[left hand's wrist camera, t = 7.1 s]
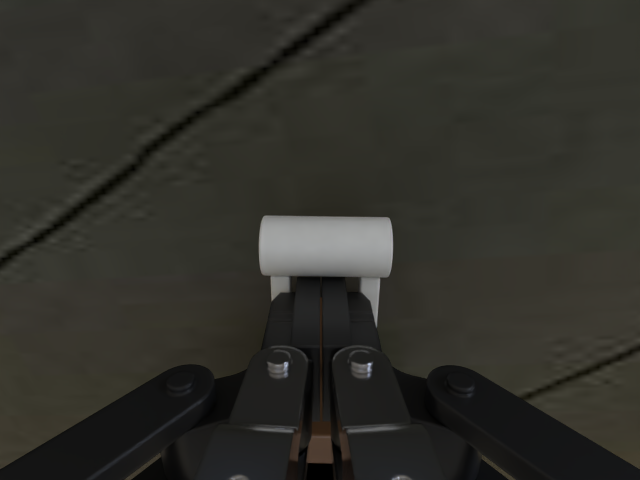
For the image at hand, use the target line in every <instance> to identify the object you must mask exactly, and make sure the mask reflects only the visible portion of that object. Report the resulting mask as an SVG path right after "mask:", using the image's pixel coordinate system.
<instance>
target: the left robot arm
mask: <svg viewBox="0 0 640 480" xmlns="http://www.w3.org/2000/svg"><path fill="white" fill-rule="evenodd" d="M322 421H330V424H331V459H332V467H333V476H334V480H508V479H507V478H506V477H504V476H503V475H502V474H500V473H499V472H498V471H497V470H495V469H494V468H493V467H491V466H490V465H489V464H487V463H486V462H485V461H483V460H482V459H481V458H482V454H483V455H484V456H485V457H487V458H488V459H489V460H491V461H492V462H493V463H495V464H496V465H497V466H499V467H500V468H501V469H503V470H504V471H505V472H507V473H508V474H509V475H511V476H512V477H513V478H515V479H516V480H640V469H638V468H636V467H635V466H633V465H631V464H630V463H628V462H626V461H625V460H623V459H621V458H620V457H618V456H616V455H615V454H613V453H611V452H610V451H608V450H606V449H604V448H603V447H601V446H599V445H598V444H596V443H594V442H593V441H591V440H589V439H588V438H586V437H584V436H583V435H581V434H579V433H578V432H576V431H574V430H573V429H571V428H569V427H568V426H566V425H564V424H562V423H561V422H559V421H557V420H556V419H554V418H552V417H551V416H549V415H547V414H546V413H544V412H542V411H541V410H539V409H537V408H536V407H534V406H532V405H531V404H529V403H527V402H525V401H524V400H522V399H520V398H519V397H517V396H515V395H514V394H512V393H510V392H509V391H507V390H505V389H504V388H502V387H500V386H499V385H497V384H495V383H494V382H492V381H490V380H488V379H487V378H485V377H483V376H482V375H480V374H478V373H477V372H475V371H473V370H470V369H468V368H465V367H461V366H454V365H446V366H441V367H438V368H436V369H434V370H432V371H431V372H430V374H429V375H428V378H427V379H425V378H421V377H417V376H412V375H409V374H406V373H403V372H401V371H399V370H397V369H395V368H394V367H392V365H391V363H390V360H389V359H388V357H387V356H386V355H385V354H384V353H382V350H381V345H380V341H379V337H378V332H377V328H376V324H375V319H374V315H373V311H372V306H371V302H370V300H369V299H368V298H367V297H366V296H365V295H364V294H363V293H362V292H347V291H346V283H345V277H322ZM312 422H320V277H297V285H296V292H280V293H279V294H278V295H277V296H276V297H275V298H274V299H273V300H272V303H271V307H270V313H269V316H268V322H267V325H266V330H265V335H264V339H263V344H262V348H261V351H259V352H258V353H256V354H255V355H254V356H253V357H252V359H251V361H250V363H249V366H248V368H247V369H246V370H244V371H242V372H240V373H238V374H235V375H231V376H227V377H223V378H218V379H214V376H213V374H212V372H211V371H210V370H209V369H208V368H206V367H203V366H200V365H192V364H189V365H181V366H177V367H174V368H171V369H169V370H167V371H165V372H163V373H162V374H160V375H158V376H157V377H155V378H153V379H152V380H150V381H148V382H146V383H145V384H143V385H141V386H140V387H138V388H136V389H135V390H133V391H131V392H130V393H128V394H126V395H125V396H123V397H121V398H120V399H118V400H116V401H115V402H113V403H111V404H109V405H108V406H106V407H104V408H103V409H101V410H99V411H98V412H96V413H94V414H93V415H91V416H89V417H88V418H86V419H84V420H83V421H81V422H79V423H78V424H76V425H74V426H72V427H71V428H69V429H67V430H66V431H64V432H62V433H61V434H59V435H57V436H56V437H54V438H52V439H51V440H49V441H47V442H46V443H44V444H42V445H41V446H39V447H37V448H36V449H34V450H32V451H30V452H29V453H27V454H25V455H24V456H22V457H20V458H19V459H17V460H15V461H14V462H12V463H10V464H9V465H7V466H5V467H4V468H2V469H0V480H124V479H125V478H127V477H128V476H129V475H131V474H132V473H133V472H135V471H136V470H137V469H139V468H140V467H141V466H143V465H144V464H145V463H147V462H148V461H149V460H151V459H152V458H153V457H155V456H156V455H157V454H159V453H161V457H160V458H159V459H158V460H157V461H155V462H154V463H153V464H151V465H150V466H149V467H147V468H146V469H145V470H143V471H142V472H141V473H140V474H138V475H137V476H136V477H134V478H133V479H132V480H306V476H307V468H308V459H309V442H310V440H311V437H312Z"/></svg>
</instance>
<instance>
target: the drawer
mask: <svg viewBox="0 0 640 480" xmlns="http://www.w3.org/2000/svg"><path fill="white" fill-rule="evenodd" d="M392 258H393V233H392V225H391V221H390V219H389V218H388V217H330V216H264V217H263V219H262V221H261V226H260V233H259V263H260V269H261V272H262V274H263V275H267V276H271V299H272V300H273V299H274V298H275V297H276V296H277V295H278V294H279V293H280V292H292V276H328V277H359V284H358V292H362V293H363V294H364V295H365V296H366V297H367V298H368V299H369V300H370V302H371V306H372V311H373V315H374V319H375V324H376V328H377V316H378V302H379V289H380V277H388V276H389V274H390V271H391V267H392ZM306 480H334V476H333V467H332V459H331V424H330V421H322V297H320V422H312V437H311V440H310V442H309V459H308V468H307V476H306Z"/></svg>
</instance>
